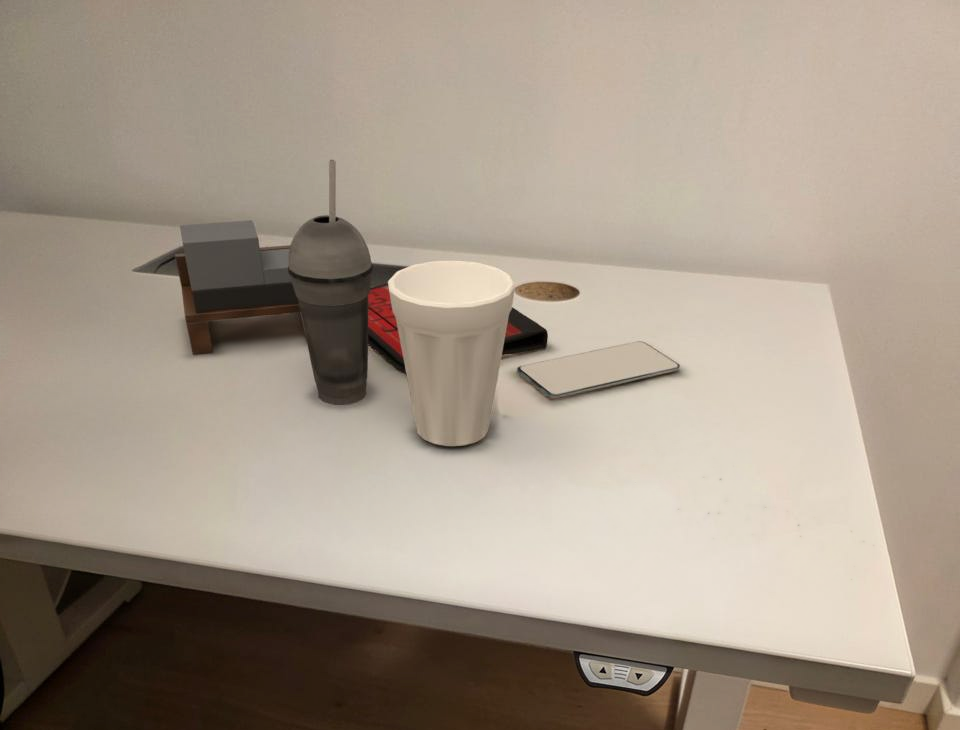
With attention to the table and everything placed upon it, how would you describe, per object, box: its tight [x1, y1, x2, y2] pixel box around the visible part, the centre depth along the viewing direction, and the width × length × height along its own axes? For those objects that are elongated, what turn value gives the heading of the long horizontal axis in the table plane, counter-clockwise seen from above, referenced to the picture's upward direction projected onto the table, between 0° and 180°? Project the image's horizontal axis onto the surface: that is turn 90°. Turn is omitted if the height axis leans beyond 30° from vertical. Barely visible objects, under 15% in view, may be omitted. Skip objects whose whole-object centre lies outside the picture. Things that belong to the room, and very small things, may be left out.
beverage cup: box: [288, 159, 374, 406], centre depth 78 cm, size 7×7×20 cm
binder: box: [368, 282, 549, 372], centre depth 96 cm, size 16×2×21 cm
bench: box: [174, 244, 301, 355], centre depth 93 cm, size 14×9×7 cm, turn 106°
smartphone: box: [516, 340, 681, 399], centre depth 88 cm, size 7×1×15 cm
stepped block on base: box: [179, 219, 299, 312], centre depth 90 cm, size 12×6×6 cm, turn 107°
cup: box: [387, 260, 516, 447], centre depth 75 cm, size 10×10×13 cm
